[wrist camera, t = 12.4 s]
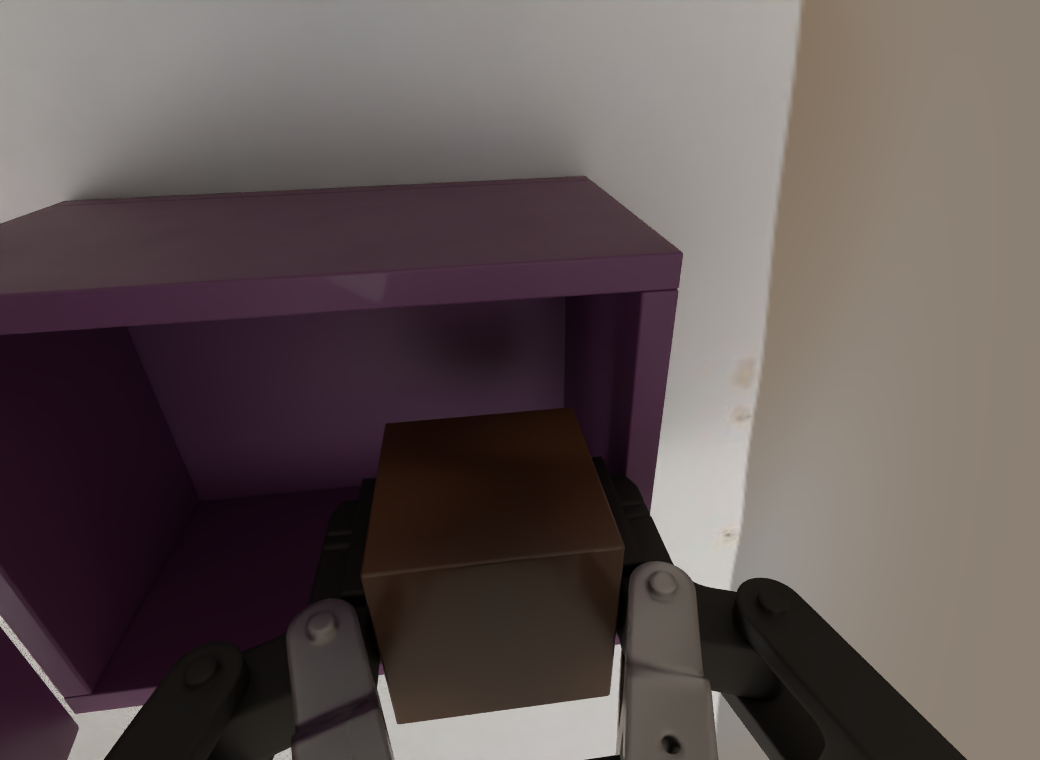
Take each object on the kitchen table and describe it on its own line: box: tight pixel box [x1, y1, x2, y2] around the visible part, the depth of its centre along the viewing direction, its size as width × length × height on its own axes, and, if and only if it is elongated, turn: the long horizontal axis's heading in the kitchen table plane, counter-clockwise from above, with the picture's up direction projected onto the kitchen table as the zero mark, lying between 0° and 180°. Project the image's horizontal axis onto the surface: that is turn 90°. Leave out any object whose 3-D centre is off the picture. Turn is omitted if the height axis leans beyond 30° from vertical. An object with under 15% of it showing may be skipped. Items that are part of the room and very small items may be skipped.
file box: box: [0, 176, 683, 714], centre depth 17 cm, size 17×13×9 cm
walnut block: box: [360, 407, 625, 724], centre depth 13 cm, size 5×5×5 cm
